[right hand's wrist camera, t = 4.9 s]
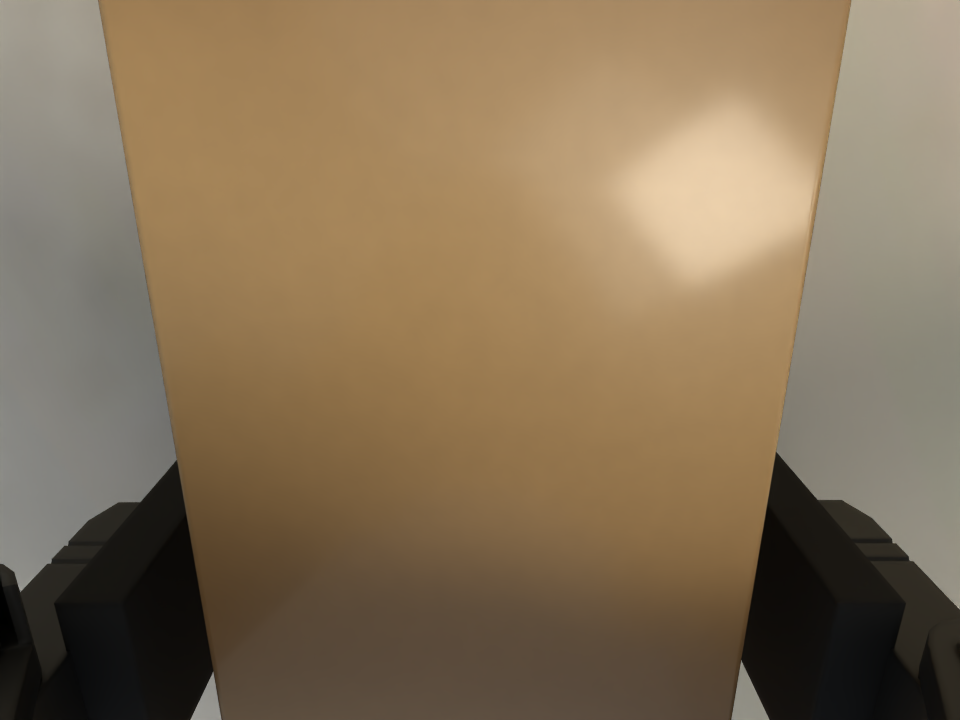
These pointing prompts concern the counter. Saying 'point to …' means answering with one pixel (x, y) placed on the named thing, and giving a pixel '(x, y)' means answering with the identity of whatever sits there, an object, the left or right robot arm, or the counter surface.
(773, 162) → the post
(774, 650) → the right robot arm
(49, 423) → the counter surface
